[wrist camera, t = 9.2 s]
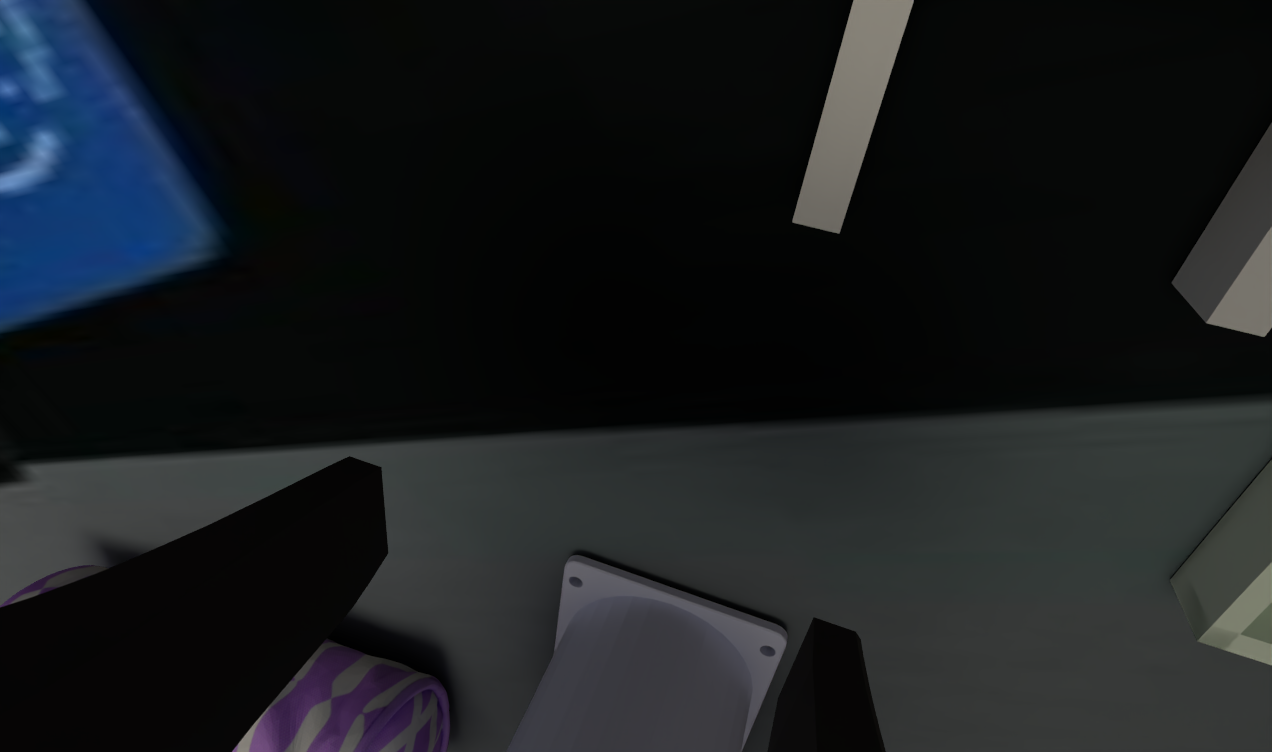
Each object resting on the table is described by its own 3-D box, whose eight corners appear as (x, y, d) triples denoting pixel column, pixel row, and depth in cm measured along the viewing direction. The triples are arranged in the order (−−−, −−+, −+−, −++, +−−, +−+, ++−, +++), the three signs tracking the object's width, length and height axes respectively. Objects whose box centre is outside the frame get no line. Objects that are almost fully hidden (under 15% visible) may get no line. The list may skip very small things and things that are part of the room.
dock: (1301, 313, 14) (1489, 474, 10) (739, 181, 17) (683, 263, 12) (1742, -266, 9) (2521, -475, 5) (858, -345, 12) (838, -539, 7)
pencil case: (146, 643, 40) (-32, 804, 33) (76, 523, 36) (-150, 678, 28) (484, 748, 34) (364, 978, 26) (453, 619, 30) (297, 852, 22)
